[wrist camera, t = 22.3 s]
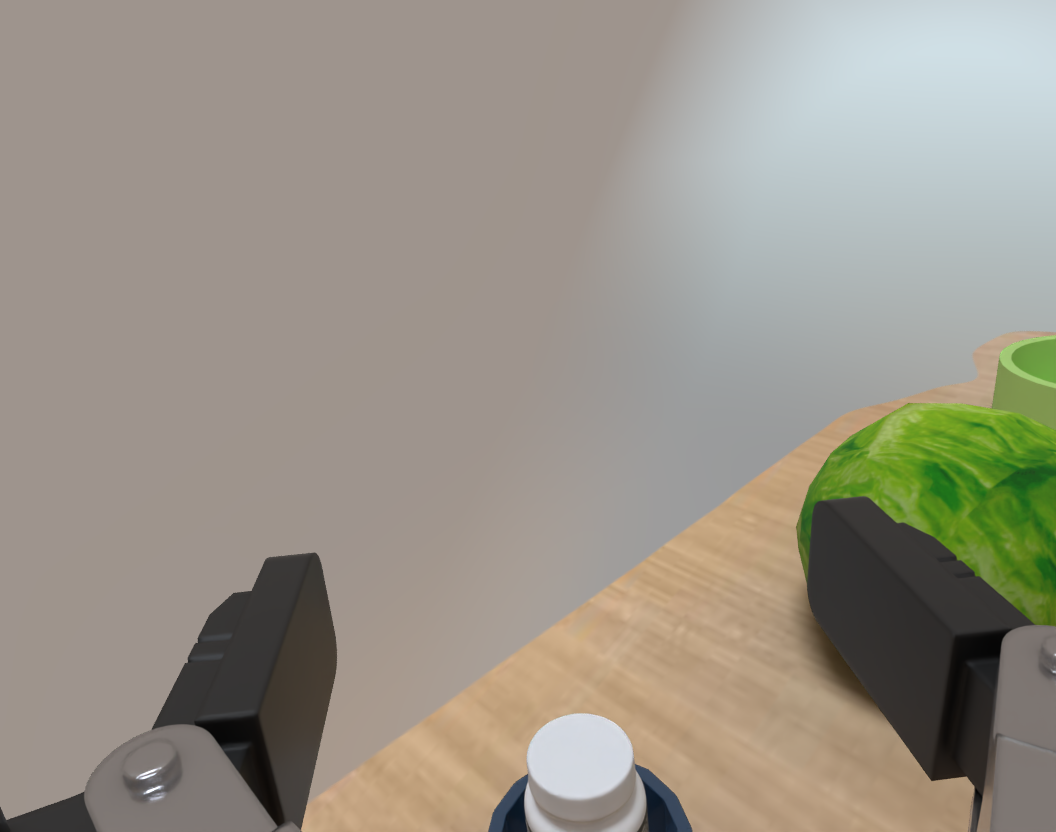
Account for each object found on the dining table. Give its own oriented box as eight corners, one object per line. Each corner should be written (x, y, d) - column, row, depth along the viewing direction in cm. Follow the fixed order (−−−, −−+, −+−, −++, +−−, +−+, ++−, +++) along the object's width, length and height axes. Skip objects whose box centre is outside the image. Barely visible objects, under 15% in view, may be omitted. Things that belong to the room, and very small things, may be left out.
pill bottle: (601, 827, 35) (587, 685, 31) (677, 905, 31) (671, 754, 28) (517, 892, 32) (491, 746, 29) (589, 986, 29) (570, 832, 25)
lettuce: (896, 530, 58) (1127, 650, 47) (707, 609, 44) (971, 803, 34) (967, 347, 53) (1245, 435, 42) (776, 372, 39) (1117, 513, 28)
